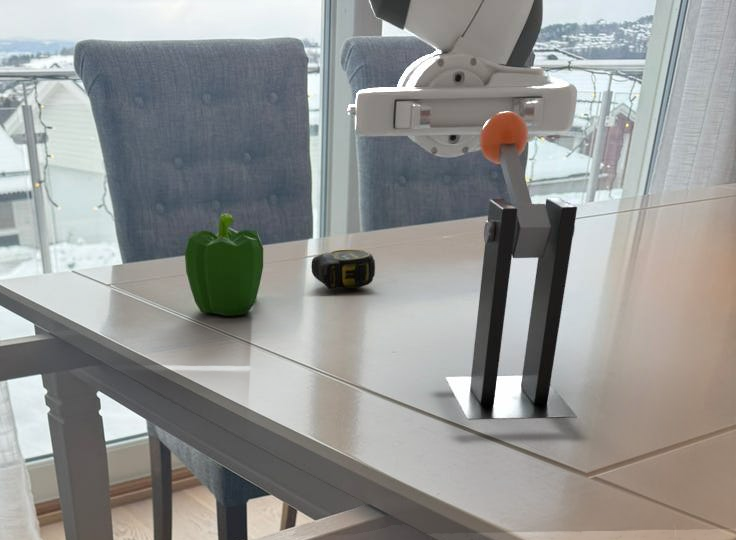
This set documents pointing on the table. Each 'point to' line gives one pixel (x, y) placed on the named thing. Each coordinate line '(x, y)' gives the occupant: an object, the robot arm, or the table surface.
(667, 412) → the table surface
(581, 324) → the table surface
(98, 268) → the table surface
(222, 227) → the bell pepper
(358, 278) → the tape measure
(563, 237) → the bracket
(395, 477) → the table surface
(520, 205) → the lever
